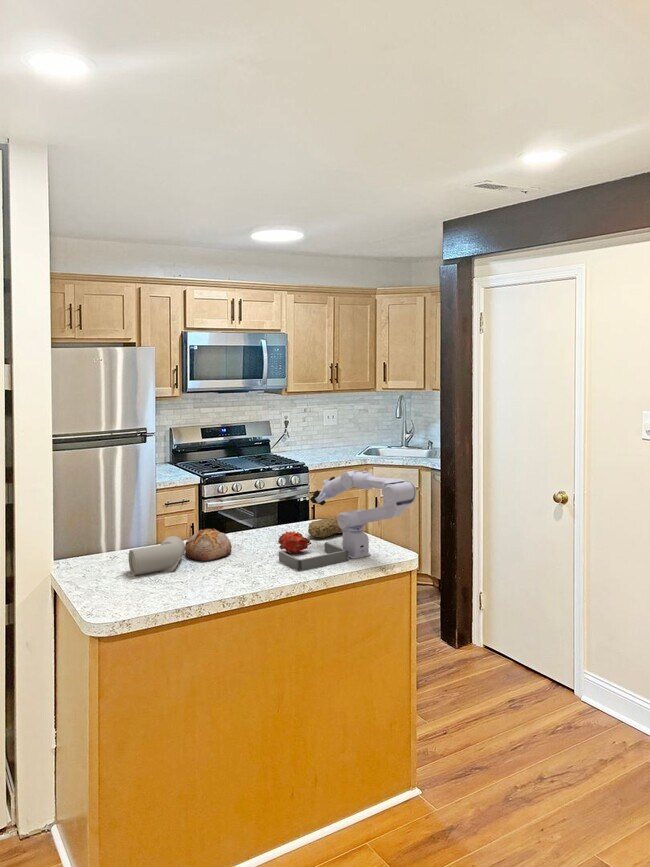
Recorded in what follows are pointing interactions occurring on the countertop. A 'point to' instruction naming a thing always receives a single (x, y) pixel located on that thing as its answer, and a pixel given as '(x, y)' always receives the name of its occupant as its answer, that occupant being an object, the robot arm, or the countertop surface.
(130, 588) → the countertop surface
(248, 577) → the countertop surface
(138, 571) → the l-shaped cylinder
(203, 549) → the bread
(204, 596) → the countertop surface
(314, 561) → the box
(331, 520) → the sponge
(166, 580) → the countertop surface
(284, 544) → the dragon fruit
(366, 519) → the robot arm
